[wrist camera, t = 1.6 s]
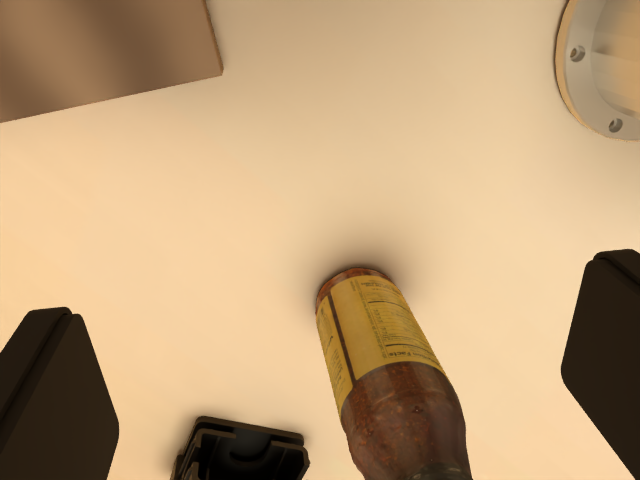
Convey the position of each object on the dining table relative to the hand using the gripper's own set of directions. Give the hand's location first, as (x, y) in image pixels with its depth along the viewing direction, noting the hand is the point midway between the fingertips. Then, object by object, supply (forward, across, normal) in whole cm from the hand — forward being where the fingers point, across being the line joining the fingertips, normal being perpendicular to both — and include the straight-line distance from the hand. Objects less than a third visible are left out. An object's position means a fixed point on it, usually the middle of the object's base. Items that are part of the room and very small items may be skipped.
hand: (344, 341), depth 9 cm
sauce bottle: (+22, -4, +14) cm, 26 cm away
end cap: (+22, +6, +29) cm, 37 cm away
